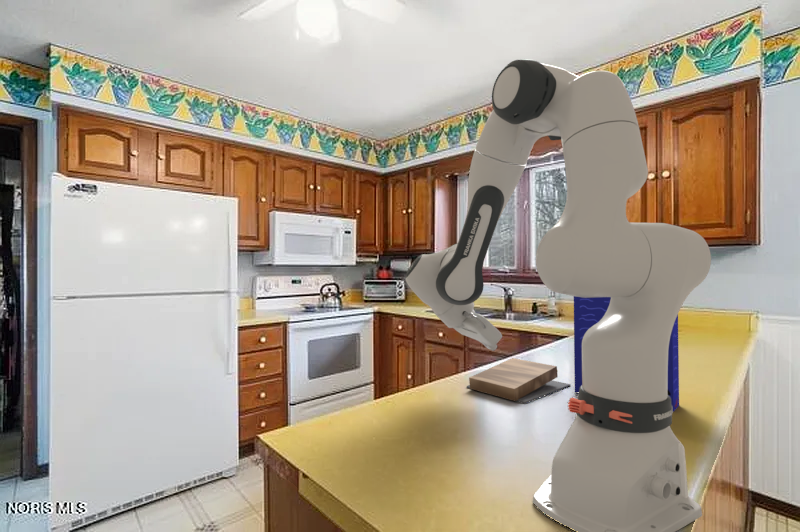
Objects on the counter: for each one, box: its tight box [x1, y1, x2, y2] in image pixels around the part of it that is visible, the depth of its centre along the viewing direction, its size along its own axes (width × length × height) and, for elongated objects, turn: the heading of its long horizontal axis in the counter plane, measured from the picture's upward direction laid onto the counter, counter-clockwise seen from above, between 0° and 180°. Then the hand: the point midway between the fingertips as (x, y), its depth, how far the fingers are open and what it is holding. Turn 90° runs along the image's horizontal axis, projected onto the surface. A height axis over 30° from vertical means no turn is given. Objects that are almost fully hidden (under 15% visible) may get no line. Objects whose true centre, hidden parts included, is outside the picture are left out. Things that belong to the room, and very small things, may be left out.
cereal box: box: [573, 296, 680, 413], centre depth 103 cm, size 22×6×30 cm, turn 46°
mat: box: [466, 379, 571, 404], centre depth 113 cm, size 22×18×1 cm
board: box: [468, 357, 558, 402], centre depth 112 cm, size 3×14×20 cm
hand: (493, 348), depth 105 cm, fingers closed
